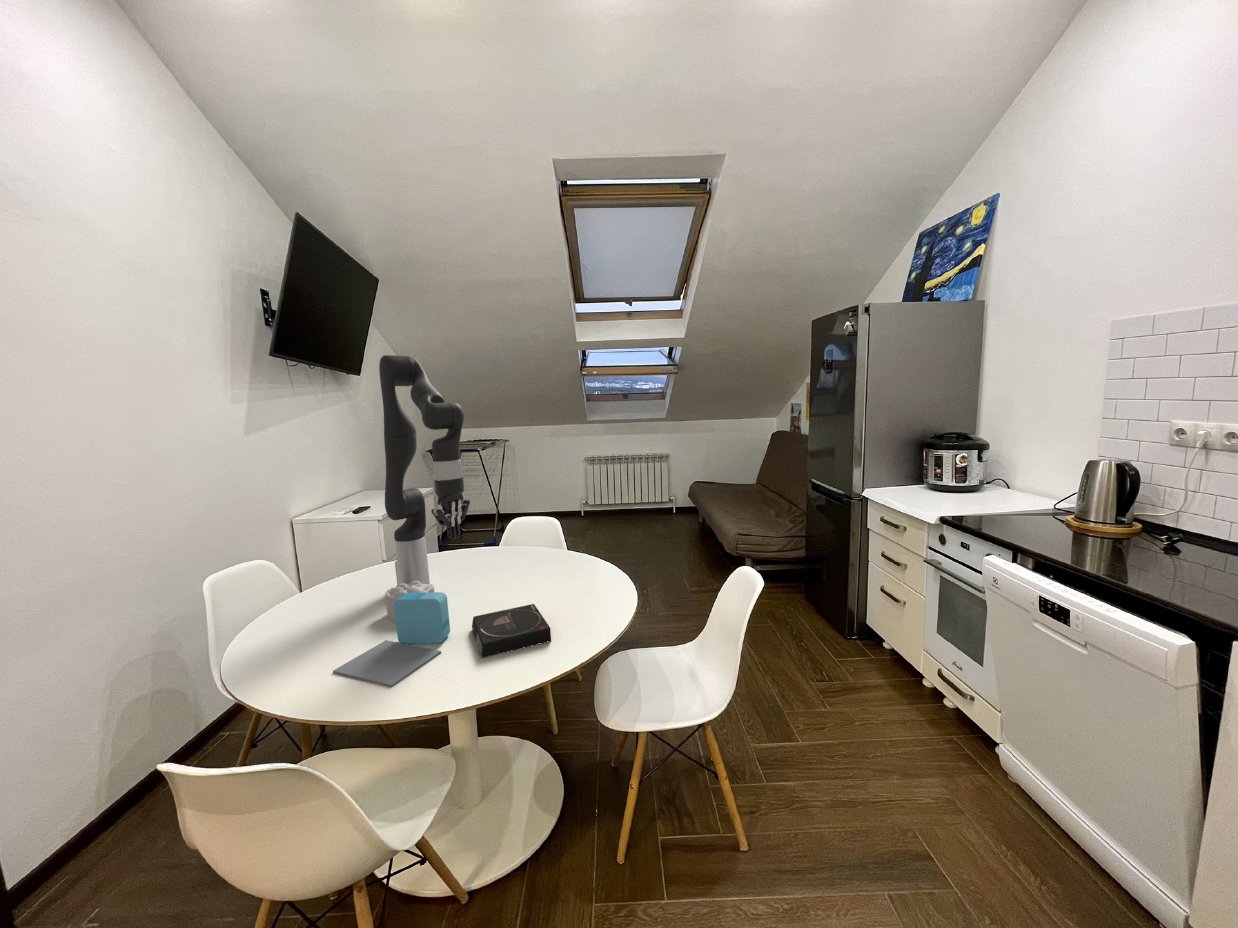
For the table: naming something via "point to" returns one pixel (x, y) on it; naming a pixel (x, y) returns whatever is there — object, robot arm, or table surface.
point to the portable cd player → (510, 630)
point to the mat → (387, 663)
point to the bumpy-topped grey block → (401, 590)
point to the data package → (422, 618)
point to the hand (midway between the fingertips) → (454, 538)
